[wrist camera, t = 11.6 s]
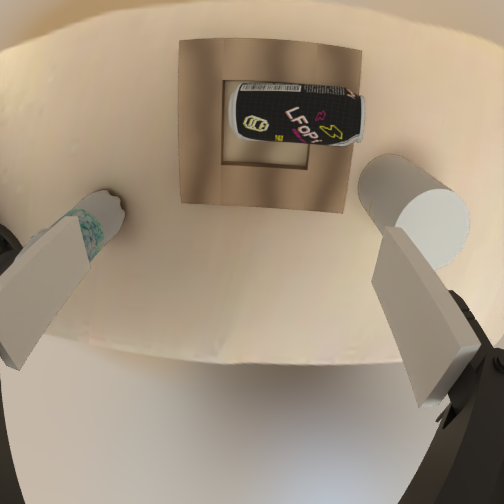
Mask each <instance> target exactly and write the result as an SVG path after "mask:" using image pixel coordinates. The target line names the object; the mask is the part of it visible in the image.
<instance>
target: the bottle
mask: <svg viewBox="0 0 504 504" xmlns="http://www.w3.org/2000/svg"><path fill="white" fill-rule="evenodd" d="M120 202H121V200H120V199H119V198H118V197H117V196H112V195H110V194H109V192H108V191H107V190H101V191H97V192H94V193H91V194H89V195H88V196H86V197H85V198H84V199H83V200H81V201H80V202H79V203H78V204H77V205H76V206H75V207H74V208H73V209H72V210H71V211H69V212H68V213H67V214H65V215H64V216H63V217H62V218H60V219H59V220H58V221H57V222H55V223H54V224H53V225H52V226H51V227H49V228H48V229H44V230H41V231H40V232H39V233H38V234H37V235H35V236H33V237H32V238H31V239H30V240H29V241H28V243H27V244H26V246H25V247H24V248H23V249H22V250H21V252H20V253H19V254H18V255H17V257H16V258H15V260H14V262H15V261H16V260H17V259H18V258H19V257H20V256H21V255H22V254H23V253H24V252H25V251H26V250H27V249H29V248H30V247H31V246H32V245H33V244H34V243H35V242H36V241H37V240H38V239H40V238H41V237H42V236H43V235H44V234H45V233H46V232H48V231H49V230H50V229H51V228H52V227H53V226H54V225H56V224H57V223H58V222H59V221H60V220H62V219H63V218H64V217H65V216H78V219H79V224H80V228H81V232H82V236H83V241H84V245H85V248H86V252H87V256H88V260H89V263H90V261H91V260H92V259H93V258H94V257H95V255H96V254H97V253H98V252H99V251H100V250H101V248H102V247H103V246H104V245H106V244H107V243H108V242H109V241H110V240H111V239H112V238H113V237H114V236H115V235H116V234H117V233H118V232H119V230H120V228H121V226H122V223H123V221H124V218H125V211H124V210H123V209H122V208H121V206H120Z"/></svg>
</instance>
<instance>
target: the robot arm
mask: <svg viewBox="0 0 504 504" xmlns="http://www.w3.org/2000/svg"><path fill="white" fill-rule="evenodd" d="M22 249H23V247H22V245H21V244H20V242H19V241H18V239H17V238H16V237H15V236H14V235H13V233H12V232H11V231H10V230H8V229H7V228H6V227H5V226H3V225H1V224H0V357H1V358H2V360H3V361H4V363H5V364H6V366H8V367H11V368H13V369H16V370H18V371H20V369H21V368H22V366H23V364H24V363H25V361H26V360H27V358H28V356H29V355H30V353H31V352H32V350H33V348H34V347H35V345H36V344H37V342H38V341H39V339H40V338H41V336H42V335H43V333H44V332H45V330H46V329H47V327H48V326H49V324H50V323H51V321H52V320H53V319H54V317H55V316H56V314H57V313H58V312H59V310H60V309H61V307H62V306H63V305H64V303H65V302H66V300H67V299H68V298H69V296H70V295H71V294H72V292H73V291H74V290H75V288H76V287H77V286H78V284H79V283H80V282H81V280H82V279H83V278H84V277H85V275H86V274H87V273H88V271H89V270H90V269H91V267H90V263H89V260H88V256H87V252H86V248H85V245H84V241H83V236H82V232H81V228H80V224H79V219H78V216H65V217H64V218H63V219H62V220H60V221H59V222H58V223H57V224H56V225H54V226H53V227H52V228H51V229H50V230H49V231H48V232H46V233H45V234H44V235H43V236H42V237H41V238H40V239H38V240H37V241H36V242H35V243H34V244H33V245H32V246H31V247H30V248H29V249H27V250H26V251H25V252H24V253H23V254H22V255H21V256H20V257H19V258H18V259H17V260H16V261H15V262H14V260H15V258H16V257H17V255H18V254H19V253H20V252H21V250H22ZM371 282H372V285H373V287H374V289H375V292H376V294H377V296H378V299H379V301H380V303H381V306H382V308H383V311H384V313H385V315H386V318H387V320H388V323H389V325H390V328H391V330H392V333H393V336H394V338H395V341H396V343H397V346H398V349H399V351H400V354H401V357H402V360H403V362H404V365H405V368H406V371H407V374H408V376H409V379H410V382H411V385H412V388H413V391H414V394H415V397H416V401H417V404H418V407H419V408H424V407H429V406H435V405H439V404H440V402H441V401H442V400H443V399H444V397H445V396H446V395H447V393H448V396H449V398H450V401H451V402H450V404H449V405H448V406H447V407H446V408H445V410H444V411H443V412H442V413H441V414H440V415H439V417H438V418H437V419H436V422H439V421H440V419H441V418H442V420H441V422H440V425H439V427H438V429H437V431H436V434H435V436H434V438H433V440H432V442H431V444H430V447H429V449H428V451H427V453H426V455H425V457H424V459H423V461H422V462H421V464H420V466H419V468H418V470H417V472H416V474H415V476H414V477H413V479H412V481H411V483H410V485H409V486H408V488H407V490H406V491H405V493H404V495H403V496H402V498H401V499H400V501H399V502H398V504H504V350H503V349H500V348H493V346H492V345H491V343H490V341H489V339H488V338H487V336H486V334H485V333H484V331H483V330H482V328H481V326H480V325H479V323H478V322H477V320H475V317H474V315H473V314H472V312H471V311H469V310H470V309H469V308H468V306H467V305H466V303H465V302H464V300H463V299H462V298H461V297H460V296H459V295H457V294H456V293H455V292H454V291H453V290H447V288H446V287H445V285H444V284H443V283H442V281H441V280H440V278H439V277H438V275H437V274H436V273H435V271H434V270H433V268H432V267H431V266H430V264H429V263H428V261H427V260H426V259H425V257H424V256H423V255H422V253H421V252H420V251H419V249H418V248H417V247H416V245H415V244H414V243H413V242H412V240H411V239H410V238H409V236H408V235H407V234H406V233H405V231H404V230H403V229H402V228H401V227H390V226H385V229H384V233H383V238H382V242H381V246H380V250H379V254H378V258H377V262H376V266H375V270H374V274H373V277H372V281H371ZM0 504H25V502H24V499H23V496H22V492H21V489H20V486H19V483H18V479H17V476H16V472H15V468H14V464H13V460H12V455H11V451H10V446H9V441H8V436H7V430H6V424H5V417H4V410H3V402H2V393H1V381H0Z"/></svg>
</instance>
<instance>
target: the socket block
mask: <svg viewBox="0 0 504 504" xmlns="http://www.w3.org/2000/svg"><path fill="white" fill-rule="evenodd" d="M361 59H362V51H361V50H356V49H350V48H345V47H339V46H332V45H325V44H318V43H310V42H301V41H290V40H277V39H256V38H214V39H193V40H180V41H179V69H178V142H179V174H180V196H181V203H188V204H212V205H232V206H250V207H266V208H281V209H295V210H308V211H320V212H331V213H342V214H343V211H344V205H345V199H346V193H347V186H348V180H349V173H350V166H351V159H352V152H353V144H354V143H351V144H349V145H348V146H346V147H337V146H327V145H316V144H304V143H289V142H272V141H245V140H239V139H238V138H237V136H236V134H235V133H234V132H233V131H232V129H231V127H230V123H229V114H228V109H229V101H230V97H231V94H232V93H233V92H234V91H235V90H236V88H237V86H238V85H239V84H241V83H293V84H312V85H326V86H337V87H345V88H348V89H350V90H351V91H352V92H353V93H355V94H356V95H358V96H359V87H360V74H361Z"/></svg>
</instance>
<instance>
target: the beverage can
mask: <svg viewBox="0 0 504 504" xmlns="http://www.w3.org/2000/svg"><path fill="white" fill-rule="evenodd" d="M228 114H229V123H230V127H231V129H232V131H233V132H234V133H235V134H236V136H237V138H238V139H239V140H245V141H272V142H289V143H304V144H316V145H327V146H337V147H346V146H348V145H349V144H351V143H354V142H358V143H361V141H362V138H363V132H364V121H365V102H364V97H363V96H361V95H360V96H358V95H356V94H355V93H353V92H352V91H351V90H350V89H348V88H345V87H337V86H326V85H312V84H293V83H241V84H239V85H238V86H237V88H236V90H235V91H234V92H233V93H232V94H231V97H230V101H229V109H228Z"/></svg>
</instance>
